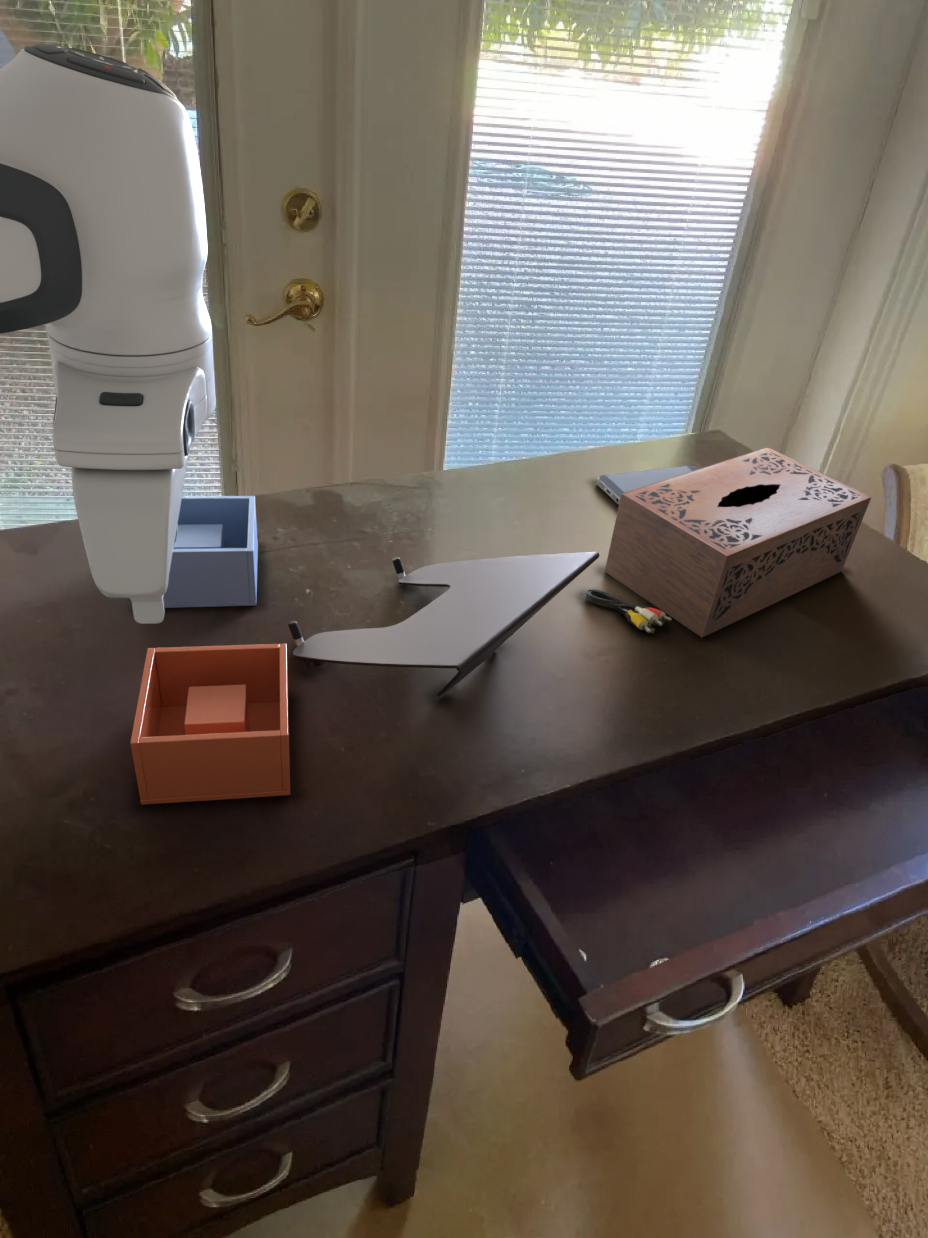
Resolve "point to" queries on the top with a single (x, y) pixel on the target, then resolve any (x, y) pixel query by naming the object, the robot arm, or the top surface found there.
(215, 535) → the slate block
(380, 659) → the laptop stand
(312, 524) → the top surface
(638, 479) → the phone
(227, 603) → the slate bin
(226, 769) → the terracotta bin
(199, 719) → the terracotta block
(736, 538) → the tissue box cover
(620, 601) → the composite cable
